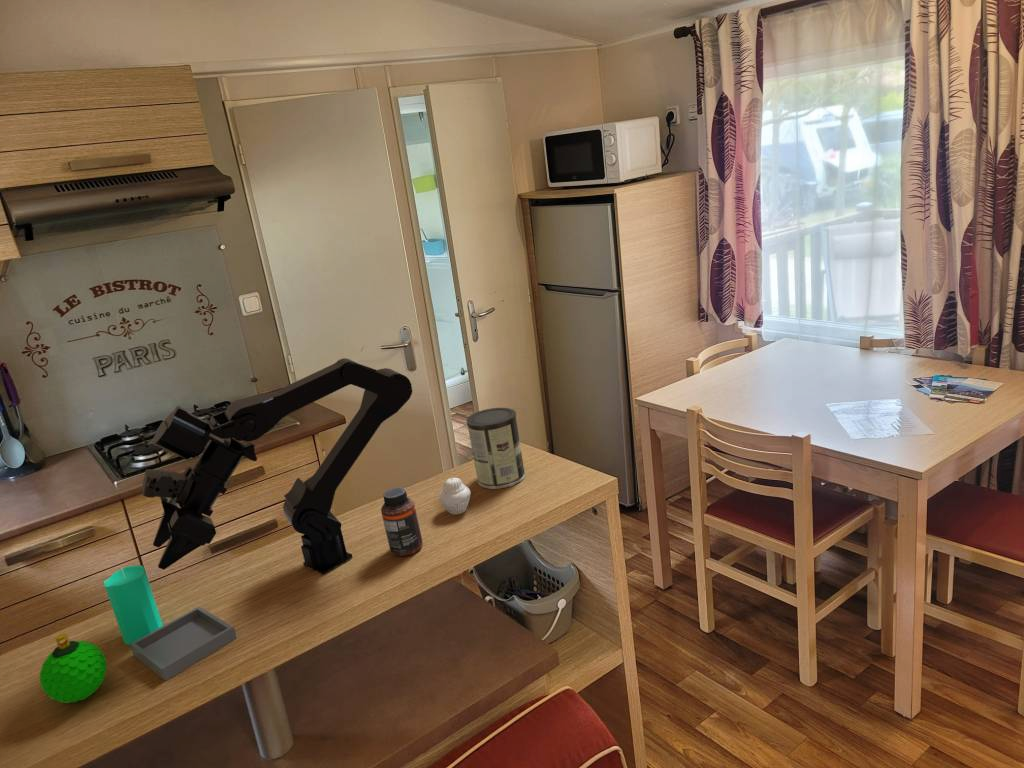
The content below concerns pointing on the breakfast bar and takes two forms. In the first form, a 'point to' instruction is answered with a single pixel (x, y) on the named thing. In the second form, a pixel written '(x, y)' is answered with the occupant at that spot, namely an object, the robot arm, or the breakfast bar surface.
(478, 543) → the breakfast bar surface
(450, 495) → the muffin
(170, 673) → the tray
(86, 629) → the breakfast bar surface
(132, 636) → the candle
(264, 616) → the breakfast bar surface
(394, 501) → the supplement bottle
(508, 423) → the coffee can
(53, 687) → the ornament
